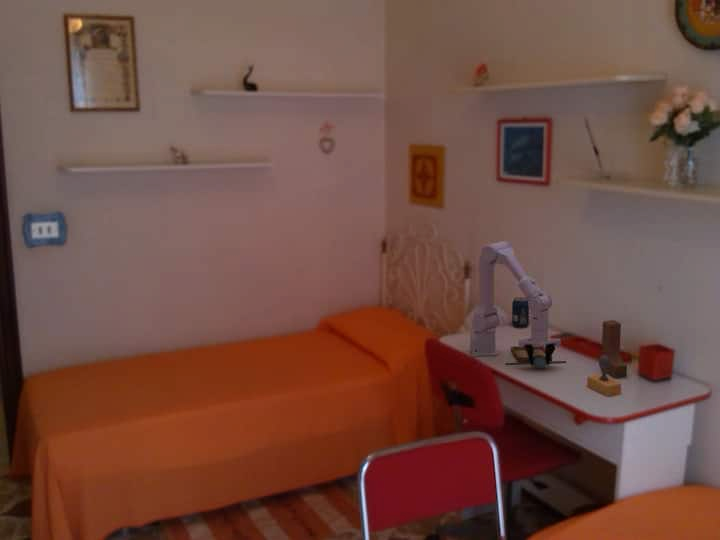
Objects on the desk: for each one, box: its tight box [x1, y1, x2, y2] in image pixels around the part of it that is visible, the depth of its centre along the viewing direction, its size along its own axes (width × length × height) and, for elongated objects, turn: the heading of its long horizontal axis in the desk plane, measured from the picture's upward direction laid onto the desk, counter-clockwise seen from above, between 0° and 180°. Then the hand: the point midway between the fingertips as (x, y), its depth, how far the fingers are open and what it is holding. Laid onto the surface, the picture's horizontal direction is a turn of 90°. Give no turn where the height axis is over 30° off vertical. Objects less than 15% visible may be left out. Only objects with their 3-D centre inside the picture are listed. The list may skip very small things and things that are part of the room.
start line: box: [505, 360, 567, 366], centre depth 258 cm, size 22×1×1 cm, turn 89°
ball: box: [533, 355, 547, 370], centre depth 252 cm, size 5×5×5 cm
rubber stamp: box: [586, 355, 622, 397], centre depth 230 cm, size 10×6×12 cm, turn 22°
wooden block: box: [601, 319, 628, 379], centre depth 243 cm, size 9×4×18 cm, turn 13°
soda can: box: [511, 296, 530, 329], centre depth 301 cm, size 7×7×12 cm
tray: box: [510, 345, 553, 363], centre depth 265 cm, size 13×13×2 cm
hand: (539, 364), depth 253 cm, fingers closed on ball, 5 cm apart
